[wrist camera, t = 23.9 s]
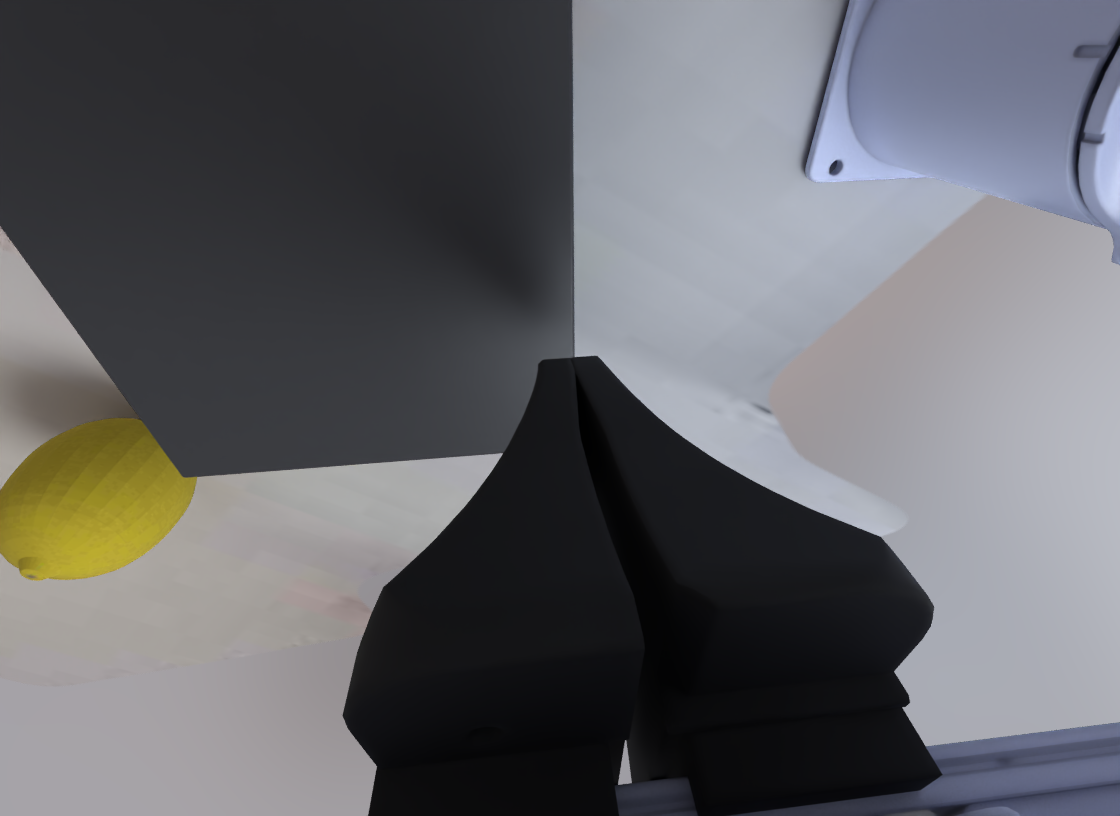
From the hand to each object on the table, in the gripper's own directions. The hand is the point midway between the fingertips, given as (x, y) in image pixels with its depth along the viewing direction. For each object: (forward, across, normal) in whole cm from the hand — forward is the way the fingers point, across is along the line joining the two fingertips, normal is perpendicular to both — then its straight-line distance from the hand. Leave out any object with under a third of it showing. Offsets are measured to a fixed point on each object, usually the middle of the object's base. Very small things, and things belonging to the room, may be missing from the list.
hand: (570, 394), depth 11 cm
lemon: (+11, +19, +8) cm, 23 cm away
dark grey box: (+10, +6, -3) cm, 12 cm away
